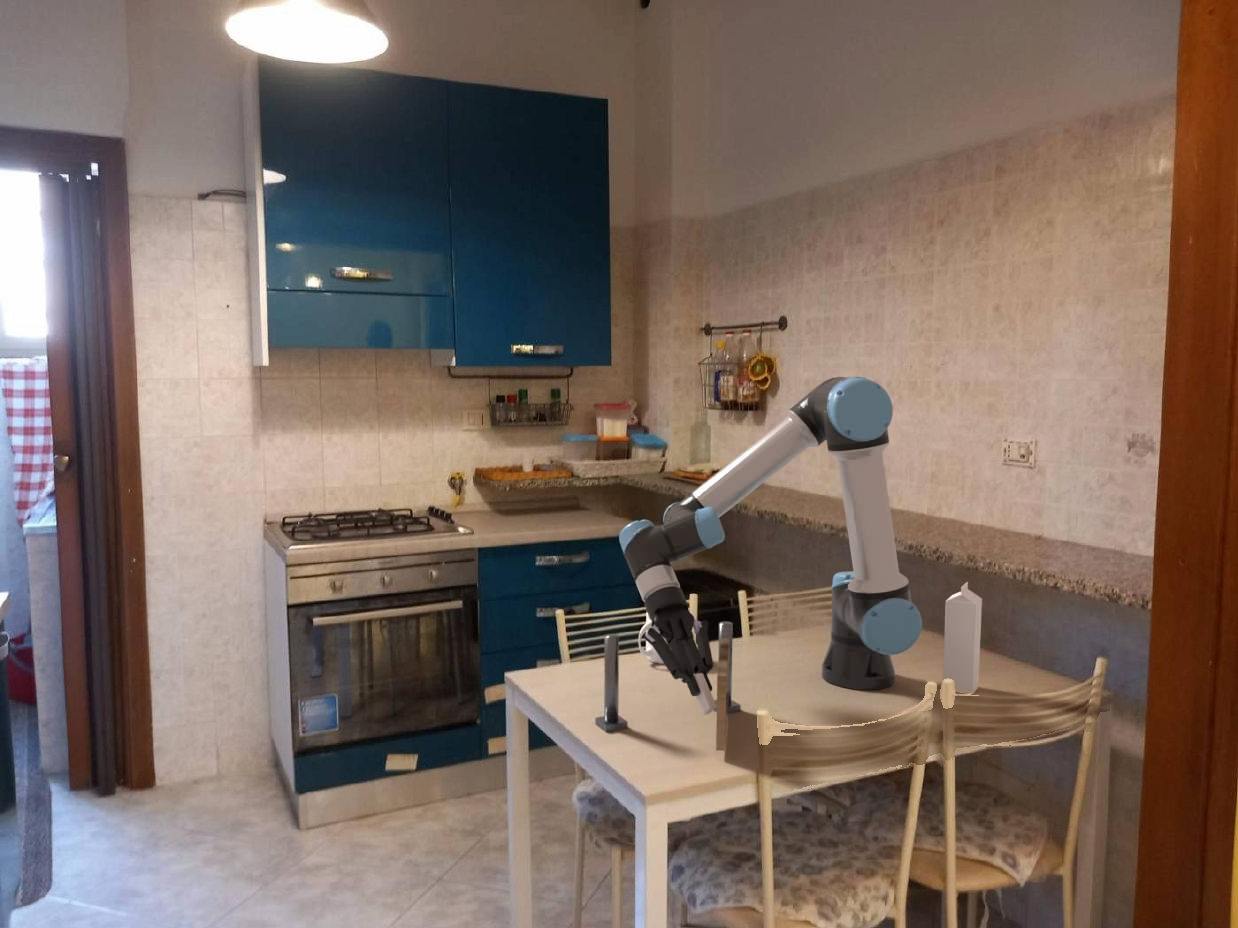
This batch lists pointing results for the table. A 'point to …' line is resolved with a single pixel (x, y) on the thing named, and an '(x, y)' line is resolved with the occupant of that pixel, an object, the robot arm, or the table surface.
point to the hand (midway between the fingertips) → (709, 710)
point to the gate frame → (611, 680)
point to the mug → (650, 650)
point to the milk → (962, 640)
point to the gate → (722, 695)
